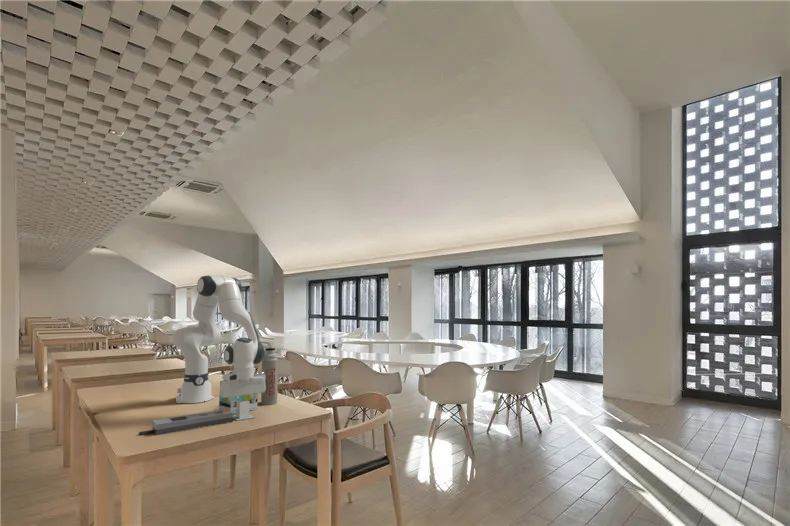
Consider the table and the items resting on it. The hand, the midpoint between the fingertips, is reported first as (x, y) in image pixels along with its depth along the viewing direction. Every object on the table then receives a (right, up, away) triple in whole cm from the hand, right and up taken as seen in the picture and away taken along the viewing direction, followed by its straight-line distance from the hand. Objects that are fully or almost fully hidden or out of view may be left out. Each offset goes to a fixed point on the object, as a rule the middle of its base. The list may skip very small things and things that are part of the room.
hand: (243, 405), depth 205 cm
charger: (0, -5, 0) cm, 5 cm away
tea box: (-6, -7, +12) cm, 15 cm away
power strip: (-19, -4, -15) cm, 24 cm away
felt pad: (0, -6, 0) cm, 6 cm away
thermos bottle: (+4, -8, +28) cm, 30 cm away
